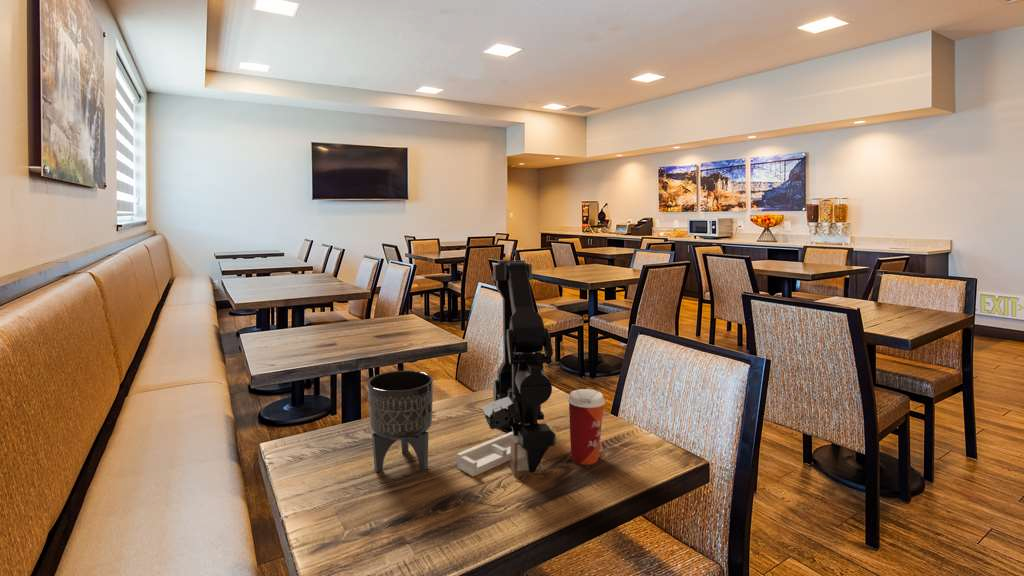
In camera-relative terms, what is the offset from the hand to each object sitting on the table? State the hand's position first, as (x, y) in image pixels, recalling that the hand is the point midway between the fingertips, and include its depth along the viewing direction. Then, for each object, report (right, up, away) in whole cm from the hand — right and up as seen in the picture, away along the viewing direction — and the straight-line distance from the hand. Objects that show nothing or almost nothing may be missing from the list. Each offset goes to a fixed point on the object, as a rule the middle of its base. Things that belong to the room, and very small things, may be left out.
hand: (525, 461), depth 107 cm
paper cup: (+12, -1, +6) cm, 14 cm away
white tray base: (-6, -1, +6) cm, 8 cm away
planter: (-25, -2, +3) cm, 25 cm away
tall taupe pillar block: (0, -2, 0) cm, 2 cm away
